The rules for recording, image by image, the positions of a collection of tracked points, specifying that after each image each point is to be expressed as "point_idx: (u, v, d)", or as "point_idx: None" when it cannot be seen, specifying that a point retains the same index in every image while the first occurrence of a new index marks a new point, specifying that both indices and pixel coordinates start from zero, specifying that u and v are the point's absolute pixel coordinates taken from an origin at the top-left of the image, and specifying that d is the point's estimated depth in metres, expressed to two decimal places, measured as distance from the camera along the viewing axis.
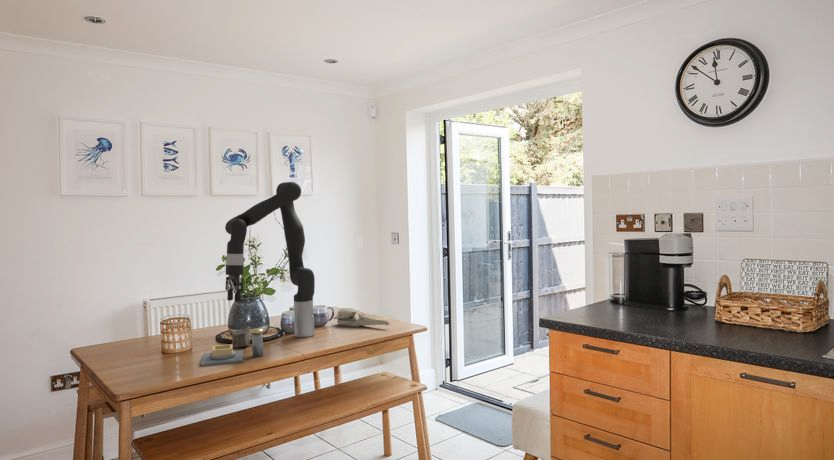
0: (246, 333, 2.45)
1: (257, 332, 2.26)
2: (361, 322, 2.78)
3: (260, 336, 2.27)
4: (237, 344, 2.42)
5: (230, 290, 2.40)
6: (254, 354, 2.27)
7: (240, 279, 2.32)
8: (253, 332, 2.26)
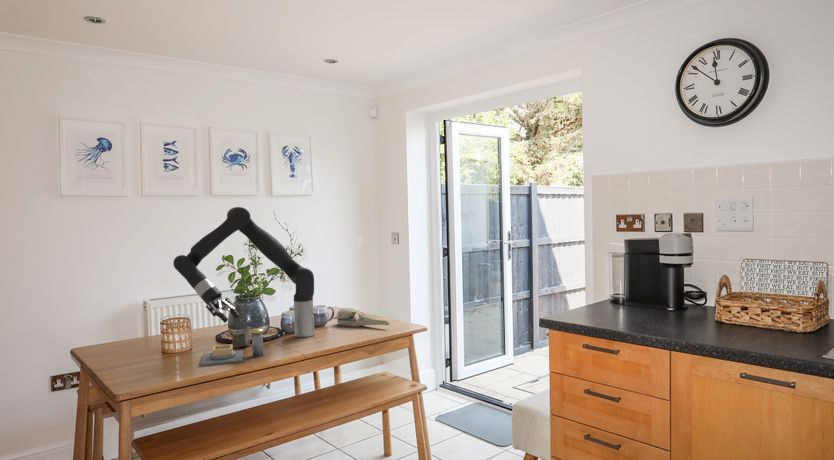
0: (246, 333, 2.45)
1: (257, 332, 2.26)
2: (361, 322, 2.78)
3: (260, 336, 2.27)
4: (237, 344, 2.42)
5: (231, 309, 2.35)
6: (254, 354, 2.27)
7: (208, 305, 2.25)
8: (253, 332, 2.26)
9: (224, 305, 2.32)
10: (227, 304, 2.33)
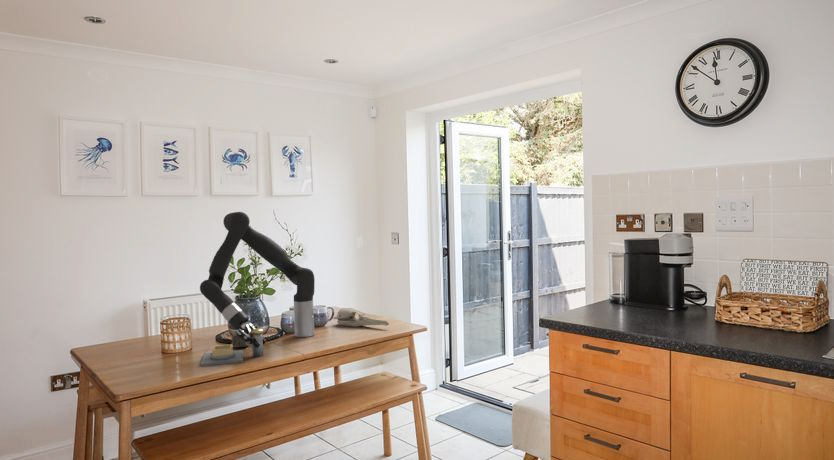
0: None
1: (257, 332, 2.26)
2: (361, 322, 2.78)
3: (260, 336, 2.27)
4: (237, 344, 2.41)
5: None
6: (254, 354, 2.27)
7: (238, 332, 2.23)
8: (253, 332, 2.26)
9: (250, 329, 2.29)
10: None
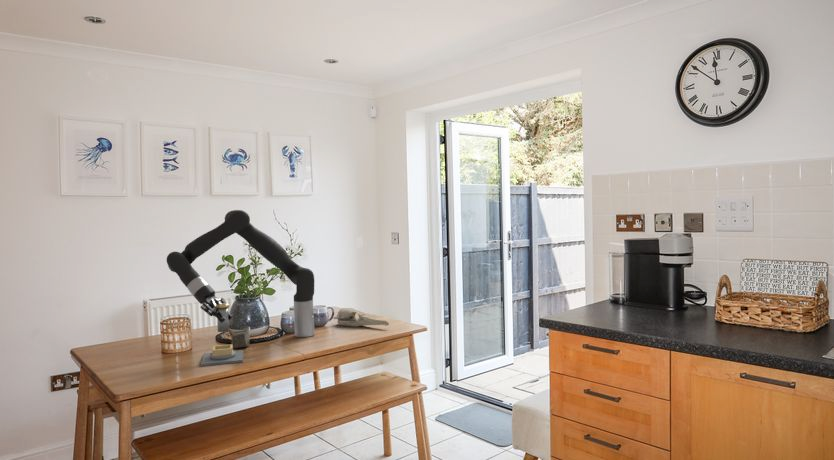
0: (245, 333, 2.44)
1: (222, 306, 2.21)
2: (361, 322, 2.78)
3: (225, 311, 2.22)
4: (237, 345, 2.41)
5: None
6: (219, 329, 2.22)
7: (203, 306, 2.18)
8: (218, 306, 2.21)
9: None
10: None
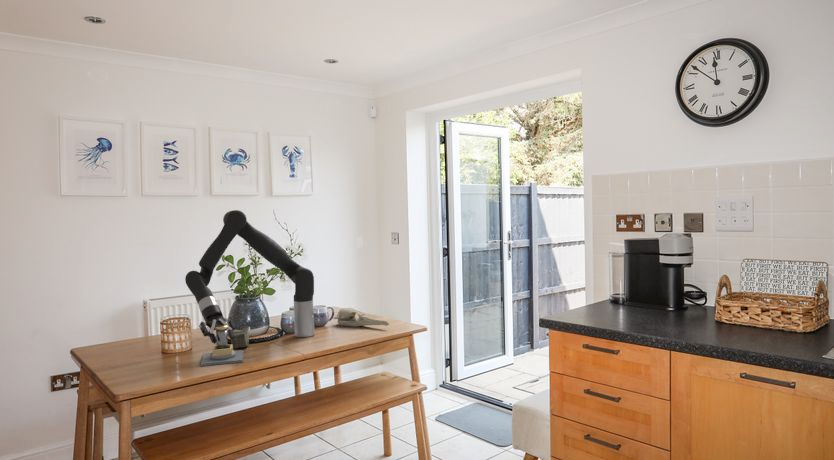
0: (245, 334, 2.44)
1: (218, 329, 2.22)
2: (361, 322, 2.78)
3: (222, 333, 2.23)
4: (237, 345, 2.40)
5: (228, 330, 2.28)
6: None
7: (200, 324, 2.23)
8: (215, 328, 2.23)
9: (219, 325, 2.26)
10: (223, 324, 2.27)
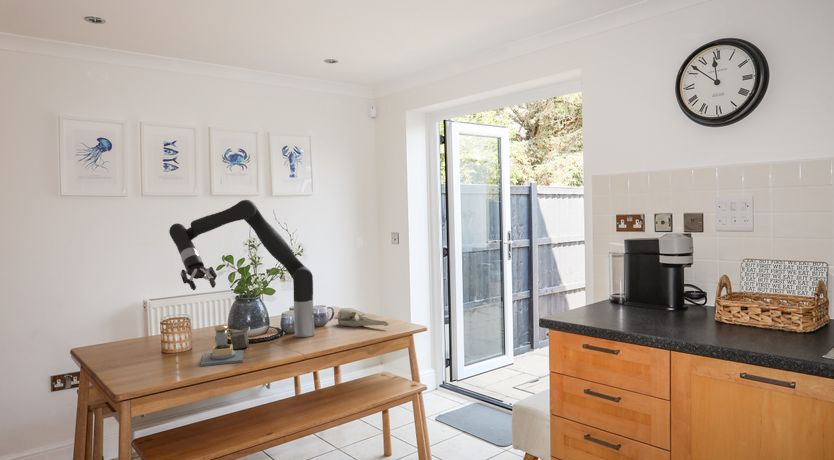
0: (245, 334, 2.43)
1: (218, 329, 2.22)
2: (361, 322, 2.77)
3: (222, 333, 2.23)
4: (237, 346, 2.39)
5: (210, 279, 2.39)
6: None
7: (181, 272, 2.33)
8: (215, 329, 2.23)
9: (201, 274, 2.37)
10: (205, 273, 2.37)
